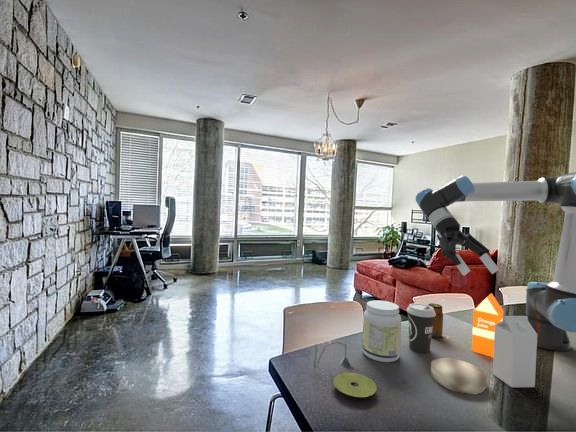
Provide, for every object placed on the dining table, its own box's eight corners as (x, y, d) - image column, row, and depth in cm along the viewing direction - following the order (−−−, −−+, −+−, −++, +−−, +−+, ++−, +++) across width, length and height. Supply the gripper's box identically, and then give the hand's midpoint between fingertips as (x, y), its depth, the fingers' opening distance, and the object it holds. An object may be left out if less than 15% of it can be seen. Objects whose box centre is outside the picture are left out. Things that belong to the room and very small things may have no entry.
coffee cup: (421, 357, 101) (423, 312, 101) (399, 345, 110) (400, 304, 110) (440, 352, 106) (442, 309, 106) (417, 341, 114) (419, 301, 114)
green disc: (385, 400, 77) (385, 393, 77) (345, 407, 74) (345, 399, 74) (362, 376, 88) (362, 370, 88) (326, 381, 85) (326, 374, 85)
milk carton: (492, 374, 92) (495, 311, 92) (514, 374, 93) (517, 312, 92) (511, 388, 85) (514, 320, 85) (535, 387, 86) (538, 320, 85)
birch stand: (480, 374, 92) (481, 364, 92) (491, 399, 79) (491, 388, 79) (429, 363, 97) (430, 354, 97) (431, 386, 85) (431, 375, 85)
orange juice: (501, 350, 109) (504, 294, 109) (497, 358, 103) (500, 299, 102) (476, 343, 114) (479, 290, 114) (471, 350, 108) (473, 294, 108)
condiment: (429, 330, 126) (430, 301, 126) (451, 337, 119) (452, 306, 119) (420, 334, 121) (422, 304, 121) (442, 342, 115) (444, 310, 114)
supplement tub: (369, 343, 111) (371, 297, 111) (404, 353, 104) (406, 304, 104) (356, 355, 101) (358, 305, 101) (393, 367, 94) (396, 313, 94)
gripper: (461, 230, 119) (498, 276, 106) (412, 229, 110) (445, 280, 96) (475, 217, 114) (515, 264, 101) (424, 215, 105) (462, 266, 91)
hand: (481, 272), depth 98 cm, fingers open, 13 cm apart
